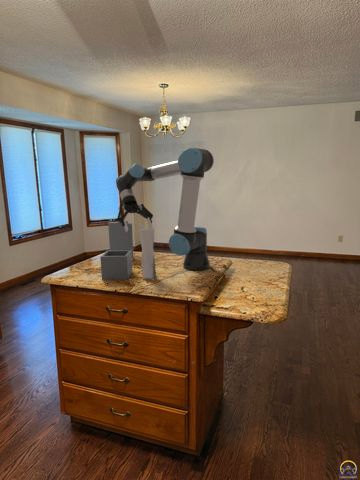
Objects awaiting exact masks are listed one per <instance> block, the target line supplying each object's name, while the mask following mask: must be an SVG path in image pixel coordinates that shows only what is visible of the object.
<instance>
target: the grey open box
mask: <svg viewBox="0 0 360 480" xmlns="http://www.w3.org/2000/svg"><path fill="white" fill-rule="evenodd" d="M99 256H100V255H99ZM99 258H100V271H101V280H102V281H103V280H129V278H130V277H131V275H132V273H133V272H134V271H133V258H132V250H118V251H110V250H106V251H104V253H102V254H101V256H100V257H99Z"/></svg>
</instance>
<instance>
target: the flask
mask: <svg viewBox="0 0 360 480" xmlns="http://www.w3.org/2000/svg"><path fill="white" fill-rule="evenodd" d="M125 221H126V224H127V226H128V232H126V231H125V228H124V226H122V224H121V223H120V221H118V222H117V221H108V222H107V225H108V226H107V228H108V241H109V244H108V245H109V251H118V250H132V259H134V239H133V238H134V235H133V223H132V222H129V220H125Z"/></svg>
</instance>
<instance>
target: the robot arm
mask: <svg viewBox="0 0 360 480" xmlns="http://www.w3.org/2000/svg"><path fill="white" fill-rule="evenodd" d="M177 158H178V159H177V160H174V161H170V162H166V163H162V164H158V165H154V166H150V167H146V168H145V167H143V166H142V165H141V164H139V163H134V164H133V165H131V167H129V168H128V170H127V171H126V173H125V174H124V175H119V176H118V177H116V179H115V184H116V189H117V191H118V194H119V196H120V199H121V203H122V205H121V204H119V207H118V214H117V218H116V222H118V221H120V223H121V224H122V226H124V228H125V231H126V232H128V226H127V224H126V221H127V220H126V219H125V218H126V217H127V215H129V214H138V215H140V216H141V217H142V218H144V219H146V222H147V223H146V224H147V227H153V224H152V223H153V218H154V214H153V213H152V212H151V211H149V209H147V208H146V206H145V205H144V203H141V204H138V202H137V199H136V196H135V193H134V191H133V189H132V188H133V187H134V186H135V185H136V184H137V182H153V181H156V180H159V179H165V178H170V177H173V176H174V177H175V176H179V175H180V177H182V186H181V195H180V204H179V210H178V219H177V220H178V221H177V225H175V226H174V229H173V234H171V236H170V237H169V239H168V246H169V249H170V250H171V252H172V253H173V254H175V255H177V256H184V260H183V263H182V265H183V266H182V267H183V268H184V269H186V270H189V271H204V270H208V269H210V268H211V263H210V260H209V257H208V254H207V253H208V250H207V249H208V248H207V247H208V241H207V240H208V239H207V238H208V237H207V236H208V233H207V232H208V231H207V229H206V227H203V226H201V227H200V226H195V222H196V215H197V206H198V200H199V193H200V183H201V181H202V180H203V179H204V178H205V173H207V172H208V171H210V170H211V169H212V167H213V165H214V162H215V161H214V160H215V159H214V156H213V153H212V152H211V151H209V150H208V149H205V148H198V147H187V148H185V149H183V150H182V151H181V152H180V154H179V155H178V157H177ZM123 210H124V213H123V212H122V211H123ZM122 213H123V215H122ZM121 215H122V216H121ZM153 228H154V227H153ZM153 228H151V229H153Z"/></svg>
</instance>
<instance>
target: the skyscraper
mask: <svg viewBox="0 0 360 480" xmlns="http://www.w3.org/2000/svg"><path fill="white" fill-rule="evenodd" d="M141 227H143V228H141ZM151 228H152V229H151ZM138 229H139V237H140V246H141V249H142V250H141V273H142V281H157V278H158V275H157V271H156V262H155V261H156V260H155V259H156V258H155V251H154V243H155V227H149V226H144V224H138Z"/></svg>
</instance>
